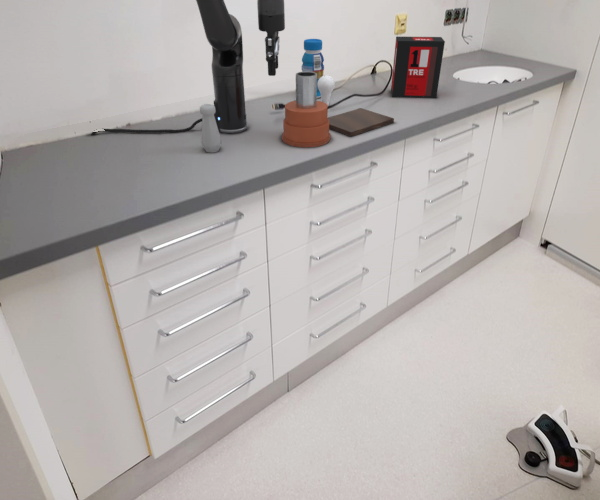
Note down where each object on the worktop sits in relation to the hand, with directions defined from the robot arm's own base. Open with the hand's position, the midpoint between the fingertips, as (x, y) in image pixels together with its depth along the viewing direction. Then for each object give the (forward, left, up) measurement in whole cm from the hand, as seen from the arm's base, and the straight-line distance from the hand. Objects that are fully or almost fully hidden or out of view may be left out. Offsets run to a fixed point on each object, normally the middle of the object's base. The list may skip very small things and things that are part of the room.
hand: (273, 71), depth 142 cm
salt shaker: (-17, -18, -18) cm, 30 cm away
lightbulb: (+16, +24, -18) cm, 34 cm away
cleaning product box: (+50, +41, -18) cm, 67 cm away
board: (+26, +6, -18) cm, 32 cm away
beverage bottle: (+11, +38, -18) cm, 44 cm away
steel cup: (+10, -8, -8) cm, 15 cm away
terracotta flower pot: (+10, -8, -18) cm, 22 cm away
